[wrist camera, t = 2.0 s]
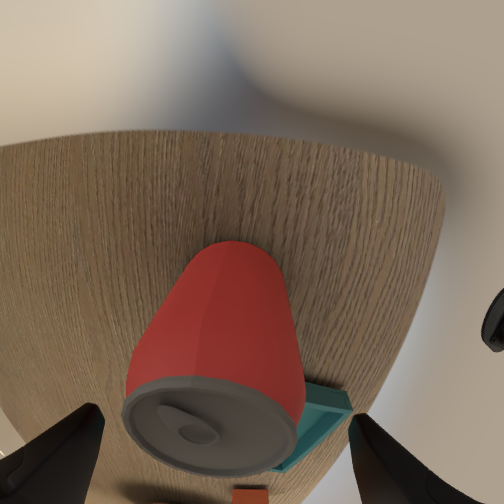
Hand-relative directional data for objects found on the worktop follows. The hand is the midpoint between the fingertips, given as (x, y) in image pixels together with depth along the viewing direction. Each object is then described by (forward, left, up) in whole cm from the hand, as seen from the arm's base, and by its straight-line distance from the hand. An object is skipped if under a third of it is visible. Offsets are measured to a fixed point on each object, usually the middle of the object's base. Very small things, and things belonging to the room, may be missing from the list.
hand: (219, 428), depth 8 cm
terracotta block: (-15, +32, -11) cm, 37 cm away
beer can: (0, 0, -11) cm, 11 cm away
